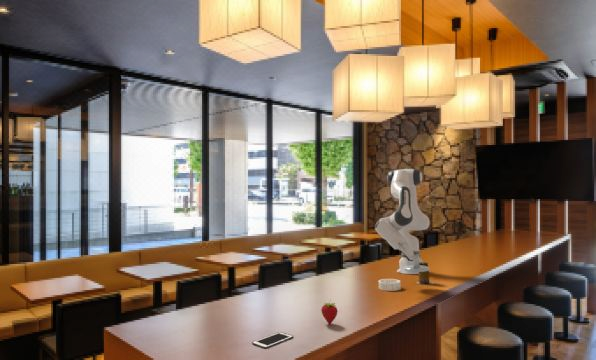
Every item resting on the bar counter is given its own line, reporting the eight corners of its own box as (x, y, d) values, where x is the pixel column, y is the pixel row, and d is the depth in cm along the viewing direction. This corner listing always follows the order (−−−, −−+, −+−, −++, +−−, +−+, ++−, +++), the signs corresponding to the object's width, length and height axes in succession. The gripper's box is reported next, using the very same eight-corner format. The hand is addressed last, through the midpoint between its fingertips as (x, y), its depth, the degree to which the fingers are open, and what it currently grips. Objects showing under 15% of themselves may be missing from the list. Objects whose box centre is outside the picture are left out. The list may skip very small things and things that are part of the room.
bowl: (378, 285, 231) (378, 278, 231) (400, 286, 228) (400, 279, 228) (378, 290, 219) (378, 283, 219) (400, 291, 217) (400, 283, 217)
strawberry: (328, 320, 170) (327, 296, 170) (341, 324, 164) (340, 299, 164) (318, 323, 166) (317, 299, 166) (331, 327, 160) (330, 302, 160)
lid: (402, 266, 229) (402, 249, 230) (428, 267, 227) (427, 249, 227) (404, 271, 216) (403, 253, 216) (431, 272, 213) (430, 253, 213)
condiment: (422, 281, 239) (421, 261, 240) (435, 283, 233) (434, 262, 233) (415, 283, 235) (414, 262, 235) (428, 285, 228) (427, 264, 229)
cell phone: (251, 345, 145) (251, 342, 145) (280, 334, 155) (280, 331, 155) (265, 350, 139) (265, 347, 139) (294, 338, 150) (294, 335, 150)
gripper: (403, 240, 213) (422, 258, 211) (401, 236, 233) (419, 252, 231) (394, 248, 214) (414, 267, 211) (394, 243, 234) (412, 260, 231)
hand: (417, 259), depth 221 cm, fingers closed on lid, 3 cm apart
